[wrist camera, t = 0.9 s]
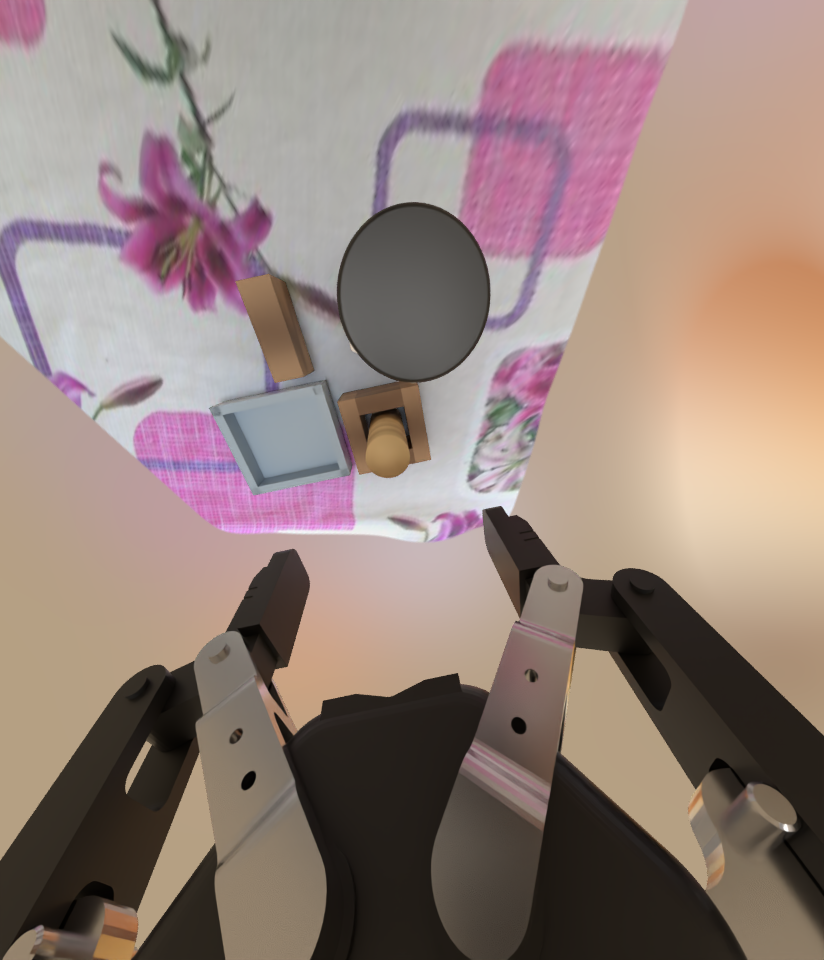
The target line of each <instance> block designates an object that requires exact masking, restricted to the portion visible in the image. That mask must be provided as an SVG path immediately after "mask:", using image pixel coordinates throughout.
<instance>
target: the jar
mask: <svg viewBox="0 0 824 960" xmlns="http://www.w3.org/2000/svg"><path fill="white" fill-rule="evenodd" d="M337 302H338V310H339V315H340V319H341V323H342V326H343V329H344V331H345V334H346V336H347V338H348V340H349V342H350V348H351V350H352V351H353V352H355V353H357V354H358V355H359V356H360V357H361V358H362V360H364V361H365V362H366V363H367V364H368V365H369V366H370V367H371V368H373V369H374V370H375V371H377V372H379V373H380V374H382V375H384V376H386V377H388V378H391V379H394V380H397V381H402V382H410V383H418V382H426V381H431V380H434V379H437V378H439V377H442V376H444V375H446V374H448V373H449V372H451V371H452V370H454V369H455V368H456V367H458V366H459V365H460V364H461V363H462V362H463V361H464V360H465V359H466V358H467V357H468V356H469V355H470V353H471V352H472V351H473V349H474V348H475V346H476V344H477V343H478V341H479V339H480V337H481V335H482V333H483V330H484V328H485V324H486V321H487V317H488V313H489V307H490V279H489V273H488V268H487V264H486V261H485V258H484V255H483V253H482V250H481V248H480V246H479V244H478V243H477V241H476V239H475V238H474V236H473V235H472V233H471V232H470V231H469V230H468V228H467V227H466V226H465V225H464V224H463V223H462V222H461V221H460V220H459V219H457V218H456V217H455V216H454V215H452V214H450V213H449V212H447V211H445V210H443V209H442V208H439V207H437V206H434V205H430V204H426V203H418V202H408V203H401V204H397V205H393V206H390V207H388V208H386V209H383V210H381V211H380V212H378V213H377V214H375V215H374V216H372V217H371V218H370V219H368V220H367V221H366V222H365V223H364V224H363V225H362V226H361V227H360V229H359V230H358V231H357V232H356V234H355V235H354V236H353V238H352V240H351V241H350V243H349V245H348V247H347V249H346V251H345V253H344V256H343V259H342V262H341V265H340V269H339V274H338V282H337Z"/></svg>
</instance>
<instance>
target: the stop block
mask: <svg viewBox="0 0 824 960" xmlns="http://www.w3.org/2000/svg"><path fill="white" fill-rule="evenodd" d="M235 282H236V284H237V287H238V289H239V292H240V294H241V297H242V299H243V302H244V305H245V307H246V310H247V312H248V315H249V317H250V320H251V323H252V325H253V328H254V330H255V333H256V335H257V338H258V341H259V343H260V346H261V348H262V351H263V353H264V356H265V359H266V361H267V364H268V366H269V369H270V371H271V374H272V377H273V379H274V382H275V383H277V382H281V381H286V380H291V379H295V378H300V377H304V376H306V375H308V374H309V373H311V372H313V371H314V369H313V366H312V363H311V360H310V357H309V353H308V350H307V347H306V344H305V341H304V338H303V335H302V332H301V329H300V326H299V323H298V320H297V316H296V313H295V310H294V307H293V304H292V301H291V298H290V295H289V292H288V289H287V286H286V283H285V282H284V281H282V280H280V279H278V278H276V277H274V276H272V275H270V274H266V275H262V276H257V277H252V278H248V279H243V280H238V281H235Z"/></svg>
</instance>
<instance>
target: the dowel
mask: <svg viewBox="0 0 824 960" xmlns="http://www.w3.org/2000/svg"><path fill="white" fill-rule="evenodd" d="M409 462H410V453H409V448H408V443H407V439H406V434H405V430H404V425H403V421H402V416H401V414H400V412H399V411H398V410H397V409H396V408H393V409H389V410H384V411H379V412H374V413H372V415H371V420H370V427H369V434H368V442H367V449H366V463H367V466H368V468H369V469H370V470H371V471H372V472H373V473H374V474H376V475H378V476H380V477H384V478H391V477H396V476H398V475H400V474H401V473H403V472H404V471H405V470H406V468H407V467H408V465H409Z"/></svg>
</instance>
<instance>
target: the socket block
mask: <svg viewBox="0 0 824 960" xmlns="http://www.w3.org/2000/svg"><path fill="white" fill-rule="evenodd" d="M337 403H338V406H339V409H340V413H341V416H342V419H343V423H344V426H345V429H346V432H347V436H348V439H349V442H350V446H351V449H352V452H353V455H354V459H355V462H356V465H357V469H358V472H359V475H360V474H365V473H370V472H372V471H371V470H370V469H369V468H368V466H367V463H366V449H367V442H368V434H369V429H368V425H367V422H366V418H365V414H370V413H374V412H379V411H384V410H389V409H393V408H398V407H403V406H404V411H405V416H406V421H407V426H408V431H409V435H407V436H406V439H407V443H408V448H409V453H410V462H409V464H413V463H418V462H422V461H427V460H431V456H430V451H429V445H428V439H427V433H426V428H425V422H424V416H423V410H422V405H421V399H420V393H419V387H418V384H417V383H410V382H402V381H399V382H394V383H389V384H385V385H380V386H375V387H371V388H366V389H361V390H356V391H352V392H347V393H343V394H342V396H341V397H340V399H339V400H338V402H337Z"/></svg>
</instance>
